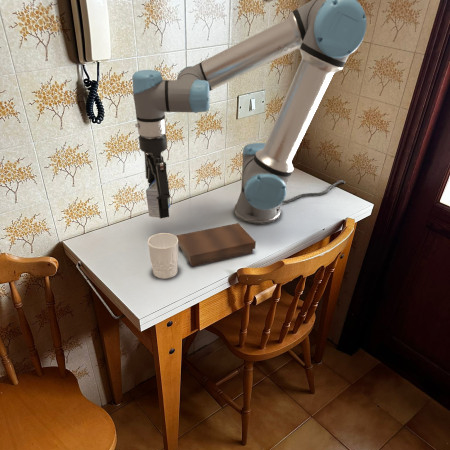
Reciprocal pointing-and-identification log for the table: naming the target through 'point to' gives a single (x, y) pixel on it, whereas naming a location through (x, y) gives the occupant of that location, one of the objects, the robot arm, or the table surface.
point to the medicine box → (153, 200)
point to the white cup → (164, 254)
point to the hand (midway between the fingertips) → (159, 210)
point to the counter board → (216, 244)
